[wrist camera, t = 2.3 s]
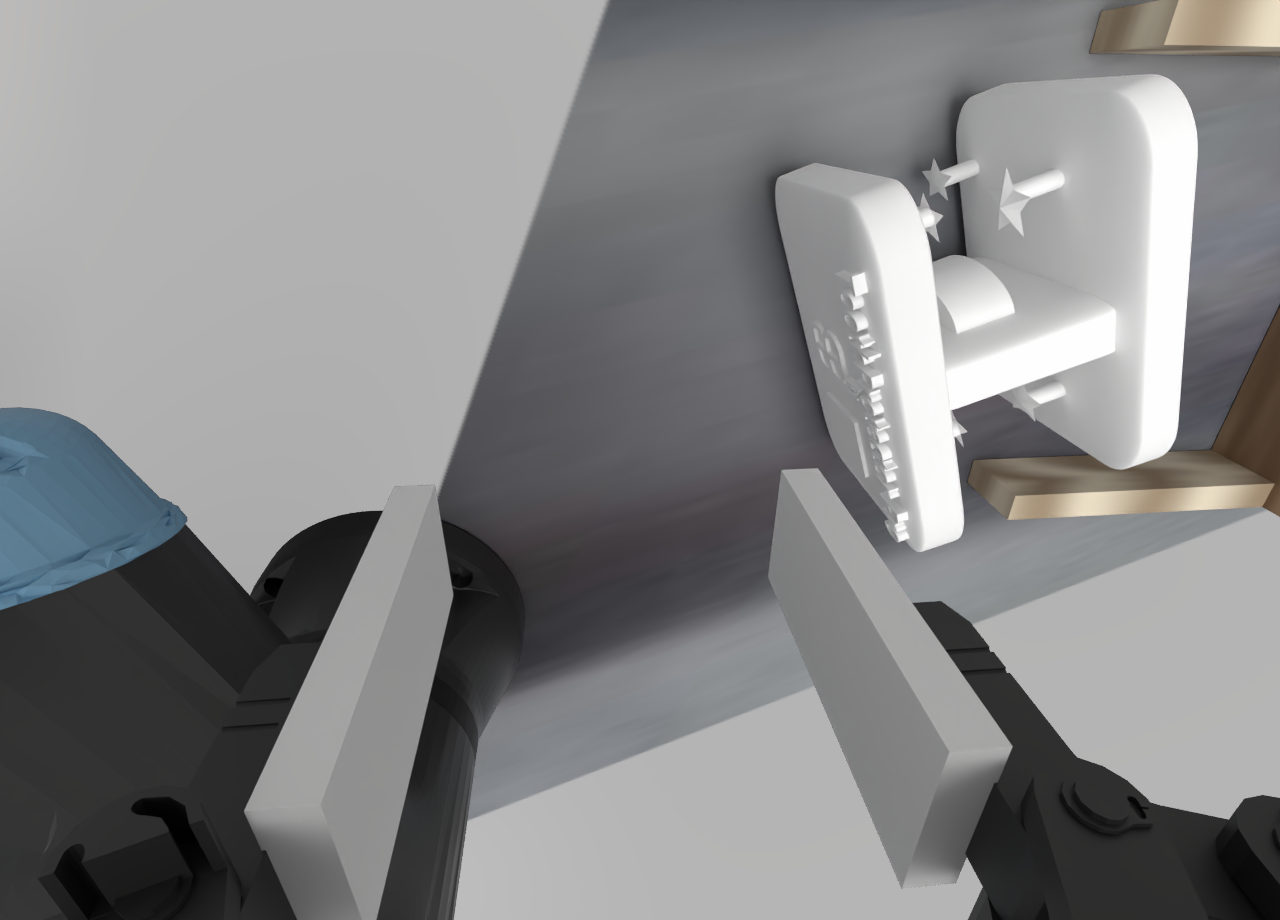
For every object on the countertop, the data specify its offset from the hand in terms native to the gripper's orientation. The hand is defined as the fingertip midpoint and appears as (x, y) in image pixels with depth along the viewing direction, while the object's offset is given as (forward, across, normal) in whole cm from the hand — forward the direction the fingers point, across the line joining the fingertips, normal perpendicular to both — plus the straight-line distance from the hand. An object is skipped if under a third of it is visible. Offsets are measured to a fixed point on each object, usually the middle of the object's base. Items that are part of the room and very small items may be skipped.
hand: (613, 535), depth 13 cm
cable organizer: (+20, +15, 0) cm, 25 cm away
